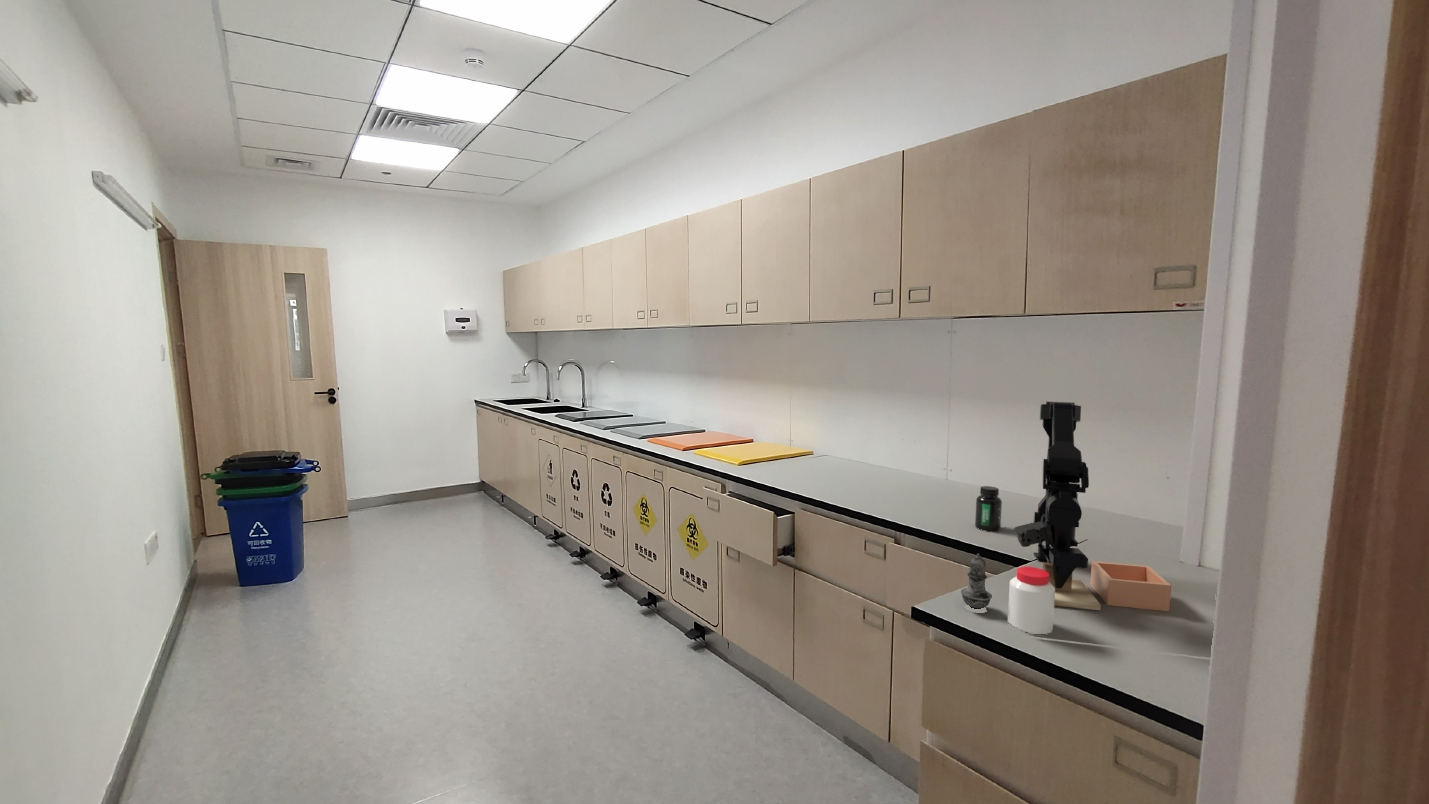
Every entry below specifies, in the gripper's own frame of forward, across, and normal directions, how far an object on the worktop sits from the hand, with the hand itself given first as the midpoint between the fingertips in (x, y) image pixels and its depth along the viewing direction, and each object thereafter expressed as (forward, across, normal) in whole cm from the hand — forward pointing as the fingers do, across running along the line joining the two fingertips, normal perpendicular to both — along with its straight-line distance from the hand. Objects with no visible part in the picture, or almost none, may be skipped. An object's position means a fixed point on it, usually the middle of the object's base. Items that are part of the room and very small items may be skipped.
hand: (1056, 584), depth 132 cm
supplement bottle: (+3, -48, -6) cm, 49 cm away
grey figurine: (+3, +12, -18) cm, 21 cm away
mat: (+3, 0, 0) cm, 3 cm away
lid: (+2, 0, 0) cm, 2 cm away
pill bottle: (+3, +17, -8) cm, 19 cm away
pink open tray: (+3, -3, +14) cm, 15 cm away
